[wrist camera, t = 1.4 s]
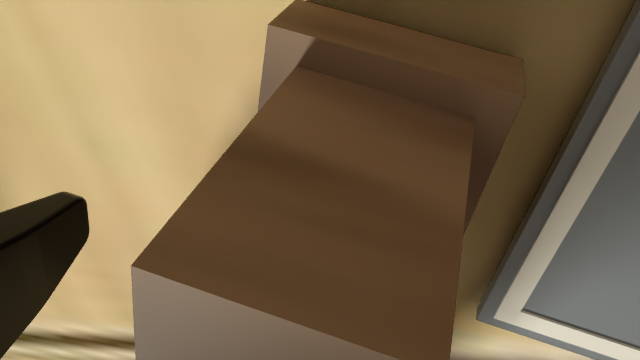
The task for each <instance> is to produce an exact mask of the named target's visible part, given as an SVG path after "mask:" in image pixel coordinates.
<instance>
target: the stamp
mask: <svg viewBox="0 0 640 360" xmlns="http://www.w3.org/2000/svg"><path fill="white" fill-rule="evenodd" d="M524 97H525V90H524V73H523V60H522V59H518V58H515V57H511V56H507V55H504V54H500V53H496V52H492V51H489V50H485V49H481V48H478V47H474V46H470V45H467V44H463V43H459V42H455V41H452V40H448V39H444V38H441V37H437V36H433V35H430V34H426V33H422V32H418V31H415V30H411V29H407V28H404V27H400V26H396V25H393V24H389V23H385V22H381V21H378V20H374V19H370V18H367V17H363V16H359V15H356V14H352V13H348V12H344V11H341V10H337V9H333V8H330V7H326V6H322V5H319V4H315V3H311V2H307V1H304V0H295V1H294V2H293V3H292V4H290V5H289V6H288V7H287V8H286V9H285V10H284V11H283V12H281V13H280V14H279V15H278V16H277V17H276V18H275V19H274V20H273V21H271V22H270V23H269V24H268V29H267V38H266V46H265V55H264V63H263V72H262V80H261V89H260V97H259V106H258V113H257V114H256V115H255V117H254V118H253V119H252V120H251V121H250V123H249V124H248V125H247V126H246V127H245V129H244V130H243V131H242V132H241V133H240V135H239V136H238V137H237V138H236V139H235V141H234V142H233V143H232V144H231V146H230V147H229V148H228V149H227V150H226V152H225V153H224V154H223V155H222V156H221V158H220V159H219V160H218V161H217V162H216V164H215V165H214V166H213V167H212V168H211V170H210V171H209V172H208V173H207V175H206V176H205V177H204V178H203V179H202V181H201V182H200V183H199V184H198V185H197V187H196V188H195V189H194V190H193V191H192V193H191V194H190V195H189V196H188V197H187V199H186V200H185V201H184V202H183V204H182V205H181V206H180V207H179V208H178V210H177V211H176V212H175V213H174V214H173V216H172V217H171V218H170V219H169V220H168V222H167V223H166V224H165V225H164V227H163V228H162V229H161V230H160V231H159V233H158V234H157V235H156V236H155V237H154V239H153V240H152V241H151V242H150V243H149V245H148V246H147V247H146V248H145V249H144V251H143V252H142V253H141V254H140V256H139V257H138V258H137V259H136V260H135V262H134V263H133V264H132V265H131V276H132V296H133V315H134V335H135V354H136V360H450V352H451V343H452V334H453V324H454V315H455V305H456V296H457V287H458V277H459V268H460V258H461V249H462V239H463V235H464V232H465V230H466V228H467V226H468V223H469V221H470V219H471V216H472V214H473V212H474V210H475V207H476V205H477V203H478V201H479V198H480V196H481V194H482V192H483V189H484V187H485V185H486V183H487V180H488V178H489V176H490V174H491V171H492V169H493V167H494V165H495V162H496V160H497V158H498V156H499V153H500V151H501V149H502V146H503V144H504V142H505V140H506V137H507V135H508V133H509V131H510V128H511V126H512V124H513V122H514V119H515V117H516V115H517V113H518V110H519V108H520V106H521V104H522V101H523V99H524Z"/></svg>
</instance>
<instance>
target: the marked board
mask: <svg viewBox="0 0 640 360" xmlns="http://www.w3.org/2000/svg"><path fill="white" fill-rule="evenodd" d="M476 320H478V321H481V322H484V323H487V324H490V325H493V326H496V327H499V328H502V329H505V330H508V331H511V332H514V333H517V334H520V335H523V336H526V337H529V338H532V339H535V340H538V341H541V342H544V343H547V344H550V345H553V346H556V347H559V348H562V349H565V350H568V351H571V352H574V353H577V354H580V355H583V356H586V357H589V358H592V359H595V360H640V0H636V2H635V4H634V6H633V8H632V10H631V12H630V14H629V15H628V17H627V19H626V21H625V23H624V25H623V27H622V29H621V31H620V33H619V35H618V37H617V39H616V41H615V43H614V44H613V46H612V48H611V50H610V52H609V54H608V56H607V58H606V60H605V62H604V64H603V66H602V68H601V70H600V71H599V73H598V75H597V77H596V79H595V81H594V83H593V85H592V87H591V89H590V91H589V93H588V95H587V97H586V99H585V100H584V102H583V104H582V106H581V108H580V110H579V112H578V114H577V116H576V118H575V120H574V122H573V124H572V126H571V128H570V129H569V131H568V133H567V135H566V137H565V139H564V141H563V143H562V145H561V147H560V149H559V151H558V153H557V155H556V156H555V158H554V160H553V162H552V164H551V166H550V168H549V170H548V172H547V174H546V176H545V178H544V180H543V182H542V184H541V185H540V187H539V189H538V191H537V193H536V195H535V197H534V199H533V201H532V203H531V205H530V207H529V209H528V211H527V212H526V214H525V216H524V218H523V220H522V222H521V224H520V226H519V228H518V230H517V232H516V234H515V236H514V238H513V240H512V241H511V243H510V245H509V247H508V249H507V251H506V253H505V255H504V257H503V259H502V261H501V263H500V265H499V267H498V269H497V270H496V272H495V274H494V276H493V278H492V280H491V282H490V284H489V286H488V288H487V290H486V292H485V294H484V296H483V297H482V299H481V301H480V303H479V305H478V307H477V315H476Z"/></svg>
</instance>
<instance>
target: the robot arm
mask: <svg viewBox="0 0 640 360" xmlns="http://www.w3.org/2000/svg"><path fill="white" fill-rule="evenodd" d="M88 236H89V221H88V211H87V203H86V201H85V199H84V198H83V197H80V196H77V195H74V194H71V193H68V192H60V193H56V194H53V195H51V196H48V197H45V198H42V199H39V200H36V201H33V202H30V203H27V204H24V205H21V206H18V207H15V208H12V209H9V210H6V211H3V212H0V359H1V358H2V357H3V355H4V354H5V353H6V352H7V350H8V349H9V348H10V347H11V346H12V344H13V343H14V342H15V341H16V340H17V338H18V337H19V336H20V335H21V333H22V332H23V331H24V330H25V329H26V327H27V326H28V325H29V324H30V323H31V321H32V320H33V319H34V318H35V316H36V315H37V314H38V313H39V311H40V310H41V309H42V307H43V306H44V305H45V303H46V302H47V300H48V299H49V297H50V296H51V294H52V293H53V291H54V290H55V288H56V287H57V285H58V284H59V282H60V281H61V279H62V278H63V276H64V275H65V273H66V272H67V270H68V269H69V267H70V266H71V264H72V263H73V261H74V260H75V258H76V257H77V255H78V254H79V252H80V250H81V249H82V247H83V246H84V244H85V243H86V241H87V239H88Z"/></svg>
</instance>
